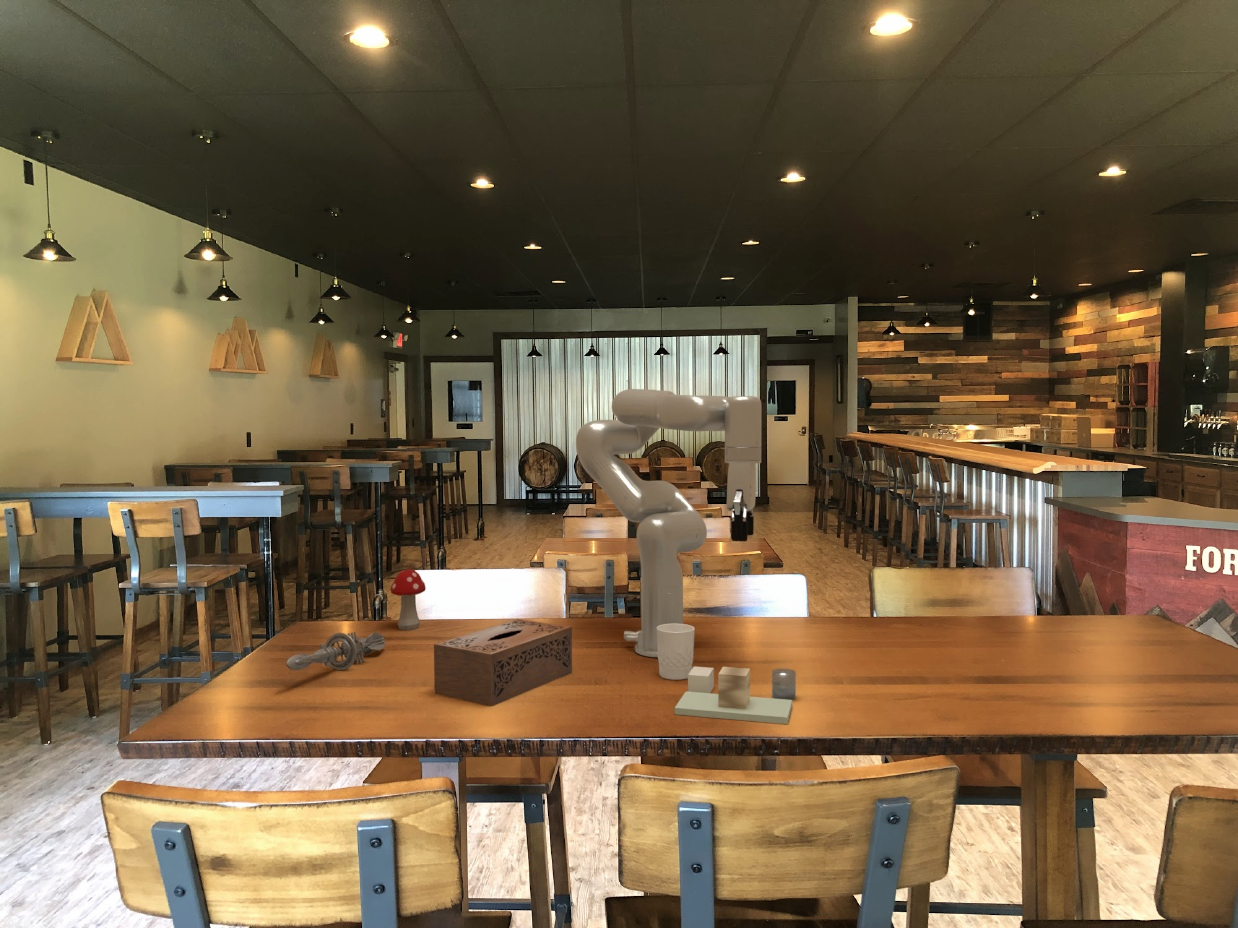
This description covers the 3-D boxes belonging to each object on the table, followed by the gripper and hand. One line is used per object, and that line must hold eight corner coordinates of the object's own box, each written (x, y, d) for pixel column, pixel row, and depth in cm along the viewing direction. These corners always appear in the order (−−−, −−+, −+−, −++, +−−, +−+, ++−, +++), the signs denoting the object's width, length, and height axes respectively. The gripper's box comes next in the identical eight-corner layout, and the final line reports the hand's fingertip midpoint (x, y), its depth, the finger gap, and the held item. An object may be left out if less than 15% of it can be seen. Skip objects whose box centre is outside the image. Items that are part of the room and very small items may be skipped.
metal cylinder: (770, 700, 168) (771, 673, 168) (773, 693, 172) (773, 667, 172) (794, 702, 167) (794, 675, 166) (796, 695, 171) (796, 669, 171)
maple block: (718, 706, 160) (718, 673, 160) (722, 698, 165) (722, 666, 165) (746, 709, 159) (746, 676, 158) (749, 700, 164) (750, 668, 163)
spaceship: (265, 651, 174) (298, 638, 172) (364, 629, 208) (392, 618, 206) (276, 690, 173) (309, 677, 171) (374, 662, 206) (402, 651, 204)
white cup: (698, 671, 187) (698, 624, 186) (689, 682, 179) (689, 633, 179) (662, 668, 189) (662, 622, 189) (651, 678, 182) (651, 630, 181)
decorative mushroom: (400, 622, 233) (399, 565, 232) (431, 623, 232) (430, 566, 231) (385, 631, 223) (384, 572, 223) (417, 632, 222) (417, 573, 221)
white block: (687, 695, 171) (687, 674, 171) (693, 686, 177) (693, 666, 177) (708, 696, 170) (708, 676, 170) (713, 687, 176) (713, 667, 176)
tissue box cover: (518, 664, 194) (517, 618, 194) (572, 673, 187) (571, 626, 186) (434, 695, 172) (433, 644, 172) (491, 707, 165) (491, 654, 164)
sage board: (674, 714, 160) (674, 707, 160) (685, 697, 169) (685, 691, 169) (787, 724, 154) (787, 717, 154) (792, 706, 164) (792, 699, 164)
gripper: (731, 454, 194) (731, 532, 194) (718, 457, 177) (717, 542, 178) (765, 454, 191) (765, 533, 192) (755, 457, 175) (755, 544, 176)
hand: (742, 537), depth 185 cm, fingers open, 9 cm apart
